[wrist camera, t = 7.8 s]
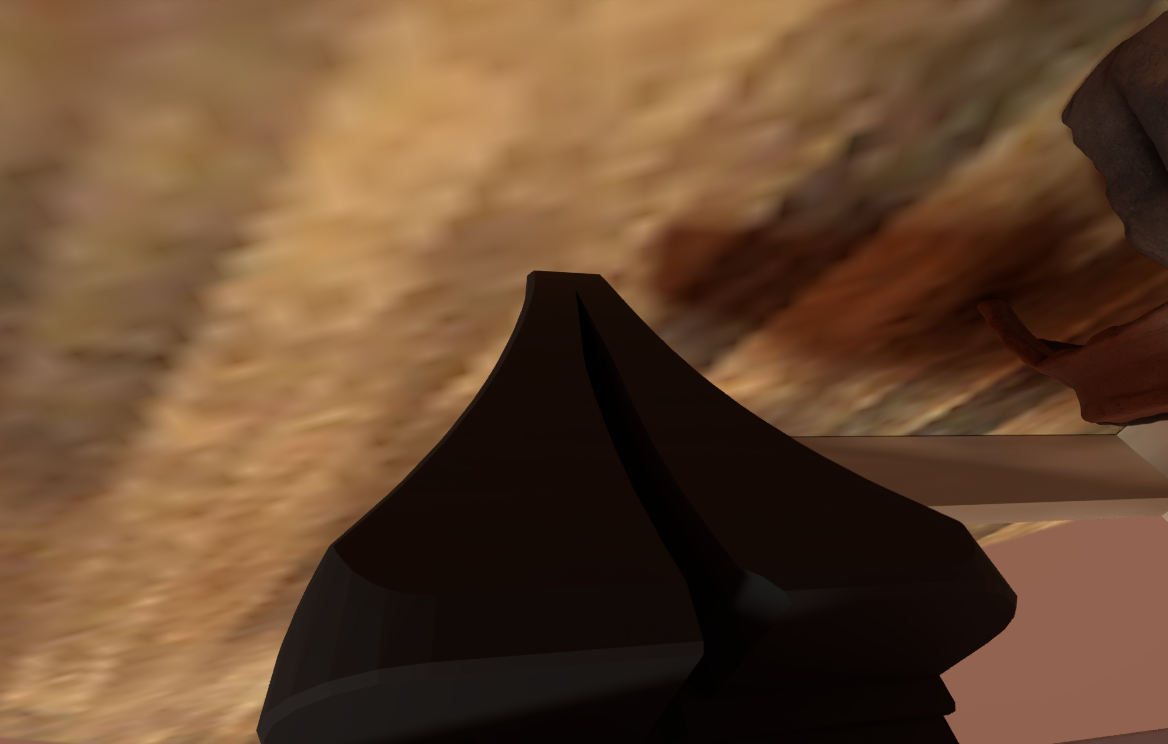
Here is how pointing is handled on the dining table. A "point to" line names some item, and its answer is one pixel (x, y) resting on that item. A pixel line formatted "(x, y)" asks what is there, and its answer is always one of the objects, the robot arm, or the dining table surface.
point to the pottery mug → (1152, 226)
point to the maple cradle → (1016, 473)
